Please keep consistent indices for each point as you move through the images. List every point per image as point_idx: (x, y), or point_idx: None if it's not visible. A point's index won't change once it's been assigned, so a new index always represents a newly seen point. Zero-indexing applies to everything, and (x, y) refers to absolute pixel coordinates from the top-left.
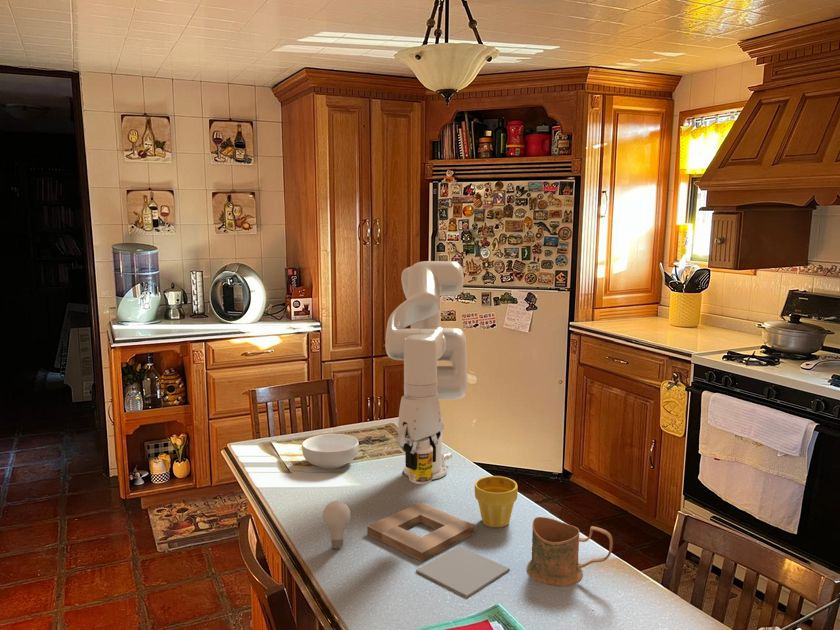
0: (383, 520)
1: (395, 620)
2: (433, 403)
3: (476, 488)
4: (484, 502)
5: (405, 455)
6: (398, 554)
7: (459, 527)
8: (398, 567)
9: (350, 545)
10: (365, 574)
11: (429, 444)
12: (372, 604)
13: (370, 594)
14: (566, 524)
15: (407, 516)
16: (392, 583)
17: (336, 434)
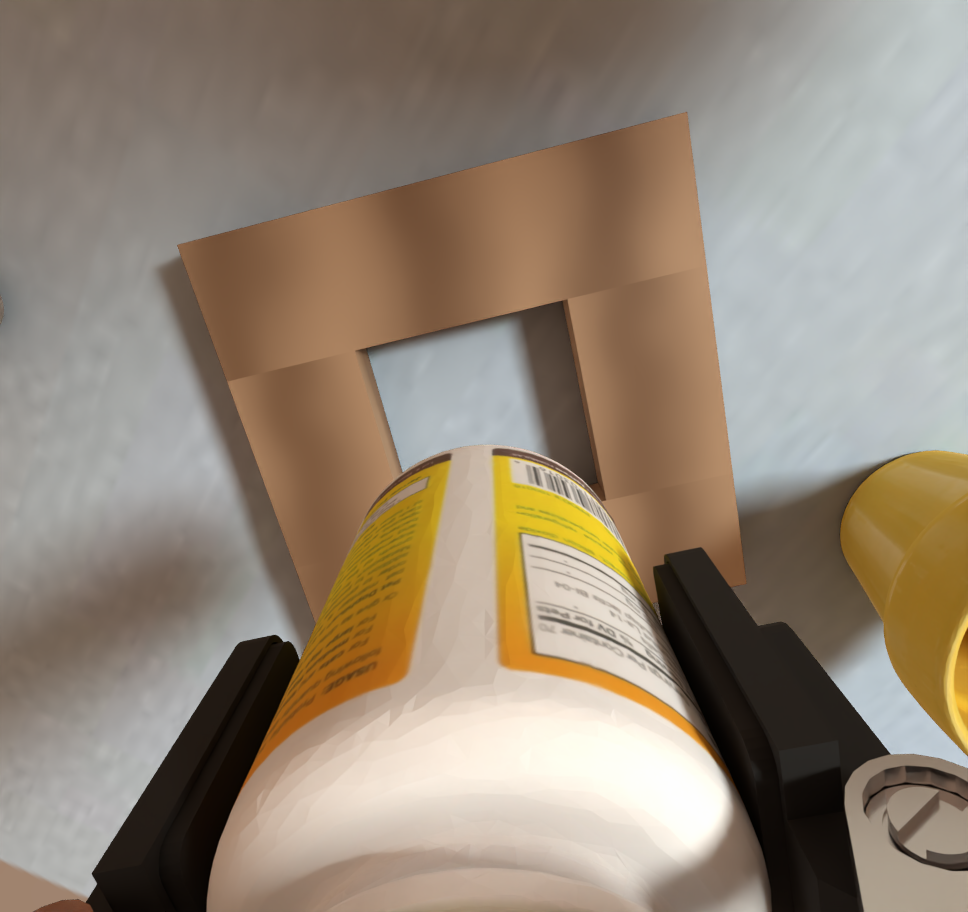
0: (310, 229)
1: (69, 880)
2: None
3: (952, 615)
4: (889, 646)
5: (158, 770)
6: (270, 533)
7: (656, 562)
8: (220, 626)
9: (66, 313)
10: (57, 599)
11: (800, 887)
12: (20, 779)
13: (33, 727)
14: None
15: (479, 270)
16: (145, 709)
17: None
